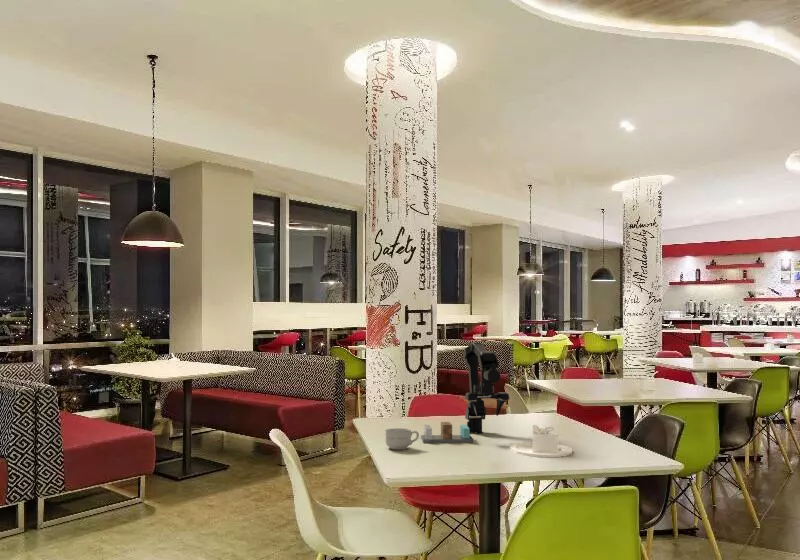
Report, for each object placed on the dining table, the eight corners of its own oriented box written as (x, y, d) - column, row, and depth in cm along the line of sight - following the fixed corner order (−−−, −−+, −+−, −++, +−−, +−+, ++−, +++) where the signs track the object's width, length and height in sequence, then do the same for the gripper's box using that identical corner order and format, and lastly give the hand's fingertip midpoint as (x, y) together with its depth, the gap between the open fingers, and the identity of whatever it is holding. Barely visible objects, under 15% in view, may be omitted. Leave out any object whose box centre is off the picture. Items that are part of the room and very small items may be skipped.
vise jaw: (465, 434, 290) (465, 424, 290) (469, 438, 280) (469, 428, 280) (460, 434, 289) (460, 424, 290) (463, 438, 279) (463, 428, 280)
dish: (583, 457, 254) (582, 428, 255) (522, 459, 250) (522, 429, 251) (557, 444, 278) (557, 418, 279) (502, 446, 274) (502, 419, 275)
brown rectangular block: (449, 435, 288) (449, 421, 289) (452, 438, 280) (452, 424, 281) (440, 435, 288) (440, 421, 288) (443, 438, 280) (443, 424, 280)
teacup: (381, 450, 263) (381, 430, 264) (390, 445, 273) (390, 426, 274) (413, 452, 258) (413, 432, 259) (421, 447, 269) (422, 428, 269)
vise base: (469, 438, 290) (469, 424, 290) (473, 442, 280) (473, 428, 280) (421, 438, 288) (421, 424, 289) (423, 442, 278) (423, 428, 279)
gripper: (501, 378, 296) (501, 412, 295) (462, 378, 293) (462, 413, 292) (509, 381, 285) (509, 416, 284) (468, 381, 282) (468, 417, 281)
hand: (487, 415), depth 286 cm, fingers open, 9 cm apart
